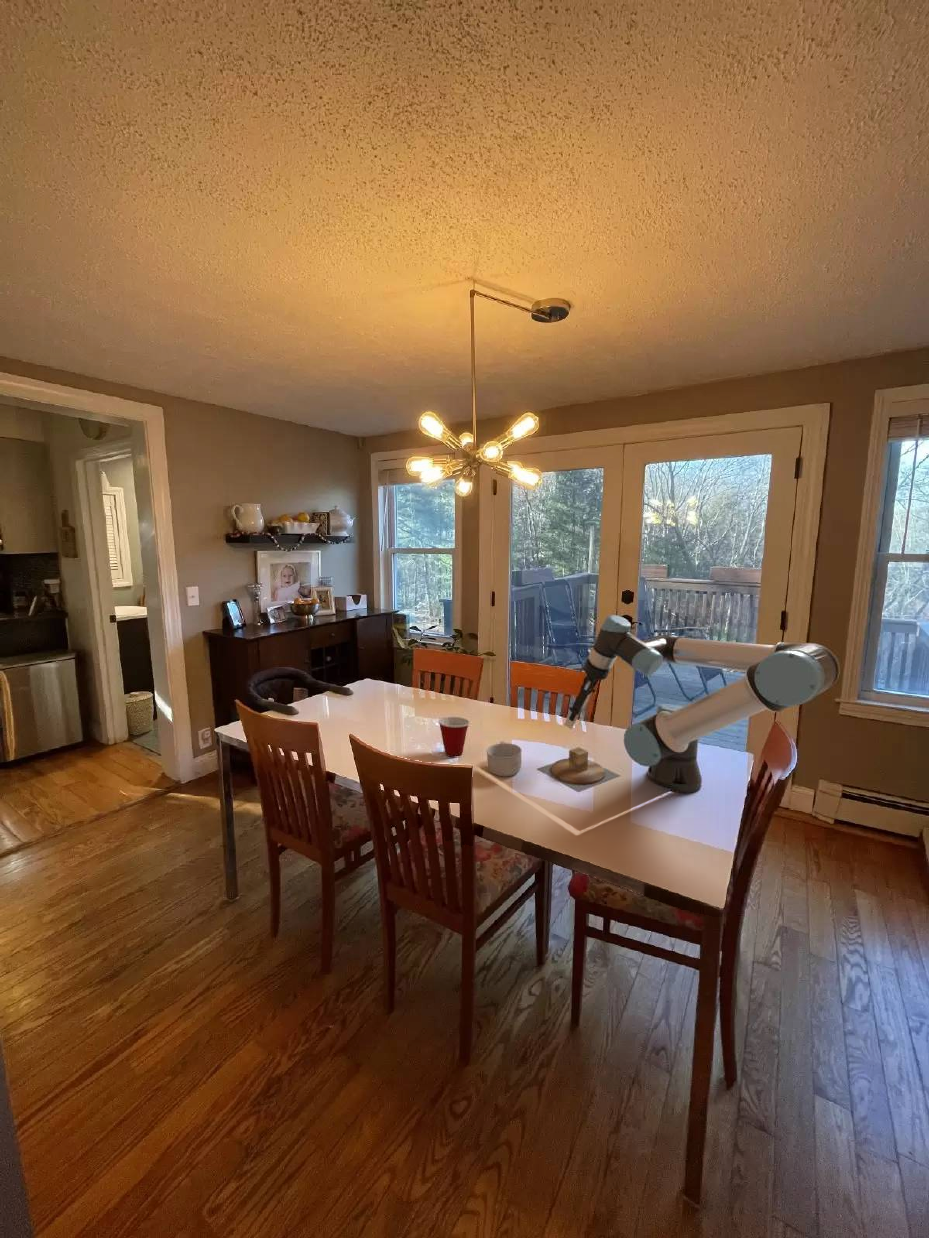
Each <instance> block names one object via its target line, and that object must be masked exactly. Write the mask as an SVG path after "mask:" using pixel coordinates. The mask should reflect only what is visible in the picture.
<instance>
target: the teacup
mask: <svg viewBox="0 0 929 1238" xmlns="http://www.w3.org/2000/svg"><path fill="white" fill-rule="evenodd" d="M522 752H523V751H522V748H521V746H519V745H517V744H515V743H506V742H505V741H503V740H502V741H500V742H499V743H496V744H492V745H490V746H489V747H488V748H487V749H486V759H487V767H488V770H489V771H490V773H492V774H493V775H495V776H499V777H512V776H514V775H517V774H518V773H519V771H521V768H522Z"/></svg>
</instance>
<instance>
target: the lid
mask: <svg viewBox="0 0 929 1238" xmlns="http://www.w3.org/2000/svg"><path fill="white" fill-rule="evenodd" d="M553 763H554V764H553V765H552V773H553V775H554V776H555V777H557V778H558V779H560V780H562V781H565V782H568V783H573V784H593V783H597V782H599V781H601V780H602V779H603V778H604V776H605V770H604V768H605V767H603V766H602V765H601V764H599V763H597V762H595V761H592V760H590V759H589V751H588V750H586V749H583V748H581V747H578V746H577V747H575V748H571V749H569V750H568V758H562V759H559V760H556V761H554V762H553Z"/></svg>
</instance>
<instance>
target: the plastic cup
mask: <svg viewBox="0 0 929 1238" xmlns="http://www.w3.org/2000/svg"><path fill="white" fill-rule="evenodd" d="M437 723H438V724H439V728H440V729H439V730H440V732H441V739H442V743H443V744H442V745H443V747H444V748H443V749H444V753H445V756H447V757H448V756H451V757H450V758H456V757H455V756H459V757H461V756H462V755H463V752H464V746H465V742H466V737H467V736H466V735H467V732H468V728H469V725H470V724H471V721H470V720H469V719H467V718H466V717H465V718H464V717H460V716H445V717H441V718H439V719H438V720H437Z"/></svg>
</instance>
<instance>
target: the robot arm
mask: <svg viewBox="0 0 929 1238" xmlns="http://www.w3.org/2000/svg"><path fill="white" fill-rule="evenodd" d="M631 627H632V624H631V622H629V620H628V619H626V618H624V617H623V616H620V615H618V614H616V615H615V614H611V615H607V616H606V617H605V619H604V621H603V623H602V624H601V626H600V628H599V629H600V630H599V632H598V634H597V636H596V639H595V641H594V644H593V645H592V647H589V649H588V650H589V655H588V658H586V660H585V663H584V665H583V671H584V673H585V674H586V675H585V677H584V678H583V682H582V684H581V686H580V691H579V693H578V695H577V696H576V698H575V700H574V701H573V702H574V703H573V705H572V706H569V708H568V710H569V713H568V716H567V717H566V720H565V722H564V724H563V725H564V726H565V727H566V728H569V729H570V730H573V728H574V726H575V724H576V721H577V720H578V717H579V716H580V714H581V710H582V709H583V710H584V709H586V706H587V704H588V702H589V700H590V698H591V695H592V693H593V694H594V693H595V691H596V689H595V688H596V686H597V684H598V683H599V681H604V680H606V679H607V678H608V675H609V674H610V672H611V668H613V666H614V664H615V661H616V659H617V658H620V659H621V660H622V661H624V662H625V663H626V664H628V665H629V666H630V667H631V668H633V670H635V671H637V672H639V673H640V674H641V675H644V676H646V677H648V676H651V675H654V673H656V672H657V671H658V670H659V669H660V667H661V666H662V664H663V663H672V664H683V665H687V666H688V665H689V666H690V665H691V666H694V667H695V666H697V667H704V668H710V669H711V668H712V669H713V668H714V669H719V670H728V671H735V672H743V673H745V674H744V676H743V677H741V678H740V679H737V680H735V681H733V682H731V683H729V684H727V685H725V686H724V687H721V688H719V689H717V690H715V691H713V692H711V693H709V694H707V695H705V696H703V697H701V698H699V699H697V700H695V701H693V702H690V703H689V704H687V705H684V706H682V705H679V704H669V703H667V704H666V703H663V704H659V705H658V706H657V708H656V709H657V710H656V713H655V714H653V715H651V716H650V717H649V716H648V717H647V718H646V719H643V720H641V721H638V722H635V723H632V724H631V725H630V726H628V727H627V728H626V729H625V731H624V733H623V734H624V735H623V745H624V748H625V751H626V753H627V754H628V756H629V758H631V760H633V762H635V763H637V764H638V765H639V766H642V767H648V769H647V778H648V779H649V780H650V781H651V782H652V783H654V784H655V785H657V786H659V787H661V788H665V789H669V792H672V793H679V794H688V793H689V794H690V793H695V792H697V791H699V790H700V789H701V788H702V782H703V779H702V775H701V771H700V767H699V765H698V764H699V763H698V760H697V759H698V747H699V746H698V744H699V739H701V738H703V737H705V736H708V735H711V734H712V733H715V732H716V731H717V732H718V731H719V730H722V729H724V728H726V727H728V726H731V725H733V724H736V723H739V722H742V721H743V720H745V719H748V718H750V717H752V716H754V715H756V714H759V713H761V712H763V711H766V710H768V711H770V712H772V713H779V712H782V711H784V710H787V709H789V708H792V707H794V706H800V705H804V704H805V703H808V702H810V701H812V700H813V699H814V698H815V697H817V696H819V695H820V694H822V693H823V692H825V691H828V690H829V689H830V688H832V687H833V686H834V685H835V684H836V683H837V681H838V680H839V677H840V673H841V665H840V662H839V659H838V657H837V656H836V655H835V654H834V653H833V651H831V650H830V649H828V648H827V647H826V646H823V645H822V644H818V643H815V642H814V643H813V642H786V641H785V642H783V641H779V642H778V643H777V644H775V645H772V644H771V645H770V644H759V643H758V644H757V643H748V642H736V641H727V640H726V641H724V640H712V639H702V638H690V637H689V638H688V637H679V636H676V634H675V635H674V634H663V635H659V636H656V637H653V638H648V639H643V640H642V639H640V638H639V637H637V636H636V635H634V634H633V633H631Z"/></svg>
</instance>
